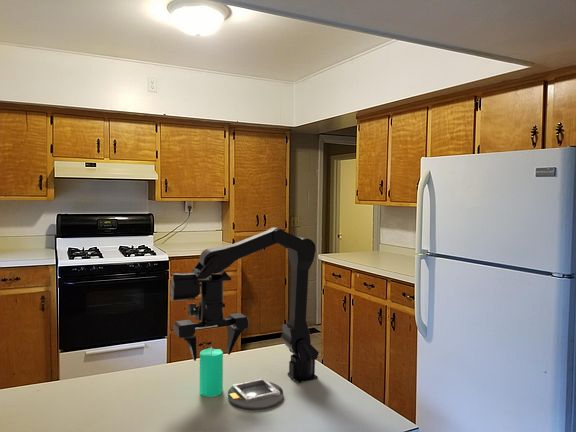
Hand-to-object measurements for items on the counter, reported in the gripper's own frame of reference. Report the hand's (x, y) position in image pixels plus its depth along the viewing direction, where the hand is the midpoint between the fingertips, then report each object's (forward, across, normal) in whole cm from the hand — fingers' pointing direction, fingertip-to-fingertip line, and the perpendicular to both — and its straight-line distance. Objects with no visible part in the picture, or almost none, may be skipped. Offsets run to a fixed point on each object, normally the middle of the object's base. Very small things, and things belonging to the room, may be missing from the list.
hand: (211, 357), depth 115 cm
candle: (+9, 0, 0) cm, 9 cm away
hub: (+9, -9, +8) cm, 15 cm away
